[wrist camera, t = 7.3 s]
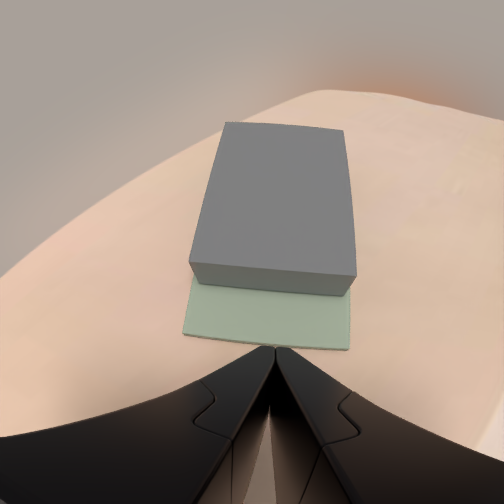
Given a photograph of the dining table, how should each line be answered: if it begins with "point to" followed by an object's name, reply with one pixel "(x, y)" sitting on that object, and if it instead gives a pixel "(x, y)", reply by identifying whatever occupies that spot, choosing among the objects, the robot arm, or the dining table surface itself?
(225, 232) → the gray rectangular block
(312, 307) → the mat
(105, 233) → the dining table surface
